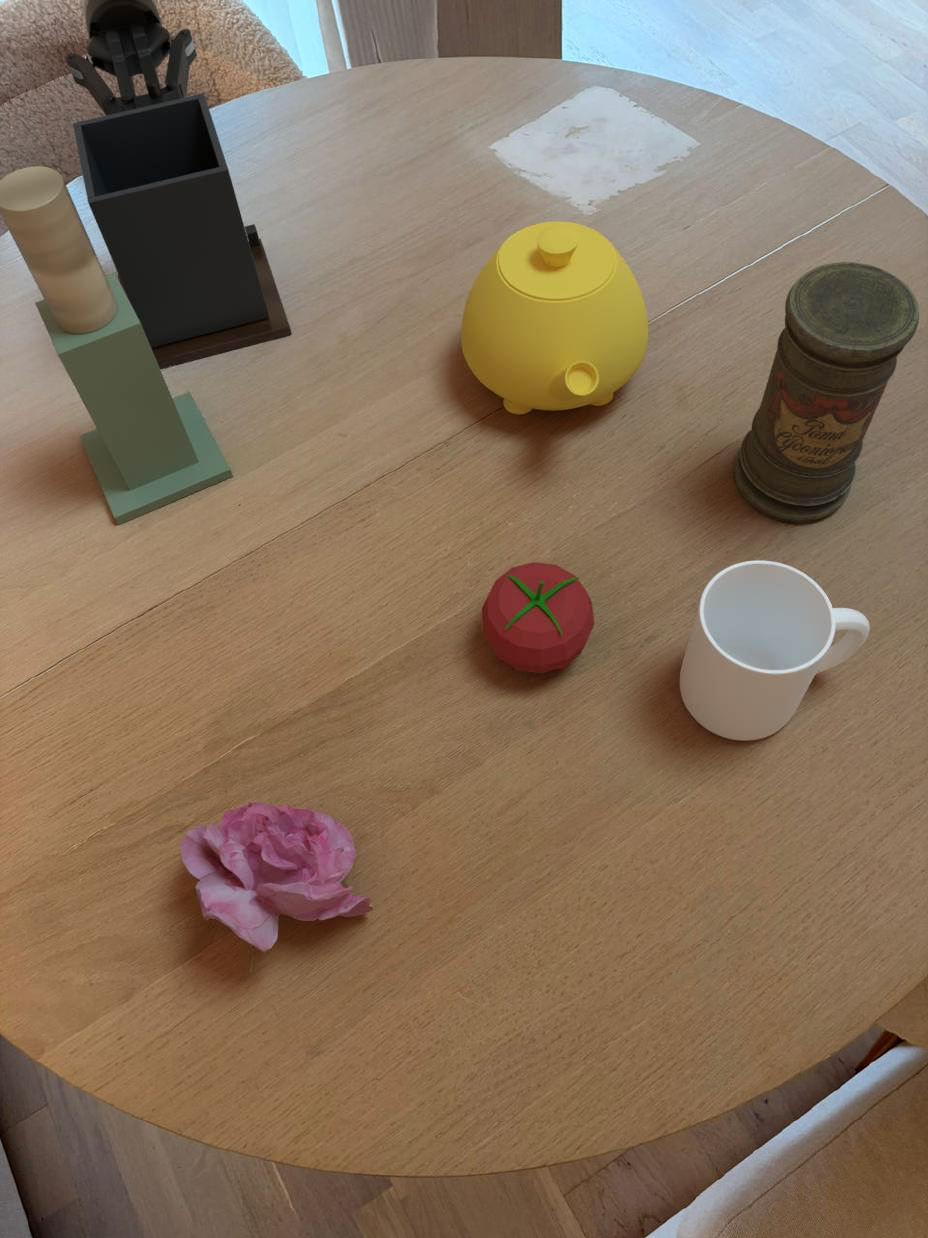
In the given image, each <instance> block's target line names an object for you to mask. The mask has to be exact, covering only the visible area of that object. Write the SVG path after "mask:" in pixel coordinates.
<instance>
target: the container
mask: <svg viewBox="0 0 928 1238" xmlns="http://www.w3.org/2000/svg"><path fill="white" fill-rule="evenodd" d="M785 299H786V300H785V304H784V305H785V306H784V311H785V315H784V328H783V329H782V331H781V333H780V334H779V336H778V340H777V344H776V345H777V346H776V352H775V355H774V358H773V362H772V364H771V368H770V372H769V375H768V379H767V382H766V386H765V389H764V392H763V396H762V399H761V402H760V404H759V407H758V409H757V410H756V412H755V414H754V416H753V418H752V421H751V429H750V430H749V431H748V432H747V433H746V434H745V436H744V438H743V439H742V442H741V445H740V447H739V449H738V451H737V453H736V456H735V460H734V463H733V464H734V465H733V473H734V479H735V480H734V481H735V483H736V486H737V488H738V490H739V492H740V494H741V495H742V497H743V498H744V499H745V500H746V501H747V503H748V504H749V505H750V506H752V507H753V508H754V509H756V510H757V511H758V512H760V513H762V514H763V515H765V516H767V517H770V518H771V519H774V520H778V521H781V522H786V523H787V522H788V523H794V524H803V523H804V524H806V523H812V522H817V521H819V520H823V519H824V518H827V517H829V516H830V515H832V514H833V513H835V512H836V511H837V510H838V509H839V508H841V506H843V504H844V503H845V502H846V500H847V498H848V497H849V494H850V492H851V489H852V484H853V482H854V479H855V476H856V469H857V466H856V462H857V460H858V459H859V458H860V456H861V453H862V451H863V446H864V445H863V444H864V438H865V436H866V435H867V432H868V429H869V427H870V424H871V422H872V420H873V417H874V415H875V413H876V410H877V409H878V406H879V405H880V402H881V399H882V396H883V395H884V392H885V390H886V387H887V385H888V383H889V380H891V378H892V376H894V373H895V371H896V368H897V364H898V356H899V355H900V353H902V351H903V350H904V348H905V346H907V345H908V344H909V343H910V341H911V340H912V339H913V337H914V335H915V334H916V332H917V330H918V327H919V322H920V307H919V303H918V299H917V298H916V296H915V294H914V292H913V291H912V289H911V287H909V286H908V285H907V284H906V283H905V282H904V281H903V280H901V279H900V278H899V277H898V276H896V275H894V274H893V273H891V272H888V271H887V270H885V269H883V268H880V267H877V266H874V265H871V264H867V263H861V262H854V261H853V262H852V261H839V262H830V263H826V264H822V265H819V266H817V267H813V269H810V270H808V271H807V272H805V273H804V274H803V275H801V276H800V277H799V278H798V279H796V281H795V283H794V284H793V285H792V286H791V288H790V289H789V290H788V293H787V296H786V298H785Z"/></svg>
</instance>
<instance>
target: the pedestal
mask: <svg viewBox="0 0 928 1238" xmlns="http://www.w3.org/2000/svg"><path fill="white" fill-rule="evenodd" d="M105 276H106V278H107V280H108V283H109V285H110V287H111V290H112V292H113V294H114V296H115V299H116V301H117V305H118V308H117V312H116V315H115V317H114V318H113V319H112V320H111V321H110V323H108V324H107V325H106V326H104V327H103V328H101V329H99V330H96V331H94V332H90V333H85V334H74V333H69V332H66V331H64V330H63V329H61V328H60V327H59V326H58V325H57V323H56V321H55V319H54V317H53V315H52V313H51V311H50V309H49V307H48V305H47V303H46V301H45V299H44V298H43V299H41V300H38V301H35V302H34V304H35V306H36V308H37V310H38V313H39V315H40V317H41V320H42V322H43V325H44V326H45V329H46V331H47V334H48V336H49V338H50V340H51V342H52V345H53V347H54V349H55V352H56V354H57V356H58V358H59V359H60V361H61V364H62V365H63V367H64V369H65V371H66V373H67V375H68V377H69V379H70V380H71V382H72V385H73V386H74V388H75V390H76V392H77V394H78V395H79V398H80V399H81V401H82V403H83V405H84V407H85V409H86V411H87V412H88V414H89V416H90V418H91V420H92V422H93V424H94V426H95V427H96V428H95V429H93V430H90V431H87V432H85V433H83V434H81V435H79V437H78V438H79V440H80V442H81V444H82V446H83V449H84V452H85V453H86V456H87V458H88V460H89V463H90V465H91V468H92V470H93V472H94V475H95V477H96V479H97V481H98V483H99V486H100V489H101V491H102V494H103V496H104V498H105V500H106V502H107V505H108V507H109V510H110V512H111V514H112V516H113V519H114V520H115V522H116V524H117V525H122V524H124V523H126V522H129V521H131V520H134V519H136V518H138V517H141V516H143V515H145V514H148V513H150V512H152V511H155V510H158V509H160V508H162V507H164V506H166V505H169V504H172V503H173V502H176V501H178V500H182V499H184V498H185V497H188V496H190V495H192V494H195V493H197V492H200V491H202V490H204V489H207V488H210V487H211V486H214V485H216V484H218V483H221V482H223V481H226V480H229V479H230V478H232V477H234V475H233V472H232V470H231V468H230V465H229V464H228V461H227V460H226V458H225V456H224V454H223V452H222V451H221V448H220V447H219V444H218V443H217V441H216V439H215V437H214V435H213V433H212V431H211V430H210V427H209V426H208V424H207V422H206V420H205V418H204V416H203V414H202V412H201V410H200V409H199V407H198V405H197V402H196V401H195V399H194V398H193V395H192V393H191V392H190V391H188V392H185V393H183V394H180V395H178V396H175V397H172V394H171V392H170V389H169V387H168V385H167V383H166V380H165V377H164V376H163V373H162V370H161V369H160V368H159V366H158V363H157V361H156V358H155V356H154V354H153V351H152V349H151V347H150V344H149V342H148V339H147V337H146V335H145V332H144V330H143V328H142V325H141V323H140V321H139V319H138V317H137V315H136V313H135V311H134V309H133V307H132V305H131V303H130V302H129V300H128V298H127V296H126V294H125V292H124V290H123V288H122V286H121V284H120V282H119V279H118V275H116V273H112V274H109V275H105Z"/></svg>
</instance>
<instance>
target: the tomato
mask: <svg viewBox="0 0 928 1238" xmlns="http://www.w3.org/2000/svg"><path fill="white" fill-rule="evenodd" d="M481 621H482V622H481V624H482V632H483V633H484V635H485V637H486V640H487V642H488V643H489V645H490V646H491V648H492V650H493V651H494V653H495V655H496V656H497V658H498V659H500V661H503V662H504V663H506V664H507V665H509V666H511V667H512V668H513V669H516V670H517V671H522V672H531V673H537V674H544V673H548V672H551V671H555V670H560V669H563V668H565V667H566V666H567V665H569V664H570V663H571V662H572V661H573V660H575V659H576V658H577V657H579V656H580V655H581V654H582V652H583V650H584V648H585V646H586V644H587V642H588V639H589V637H590V635H591V632H592V630H593V628H594V626H595V618H594V608H593V601H592V599H591V596H590V595H589V593H588V591H587V590H586V588H585V587H584V585H583V584H582V583H581V581H580V577H579V576H576V575H575V574H573V573H572V572H570V571H568V570H566V569H565V568H563V567H561V566H559V565H558V564H554V563H553V564H552V563H546V562H545V563H544V562H538V561H537V562H536V561H531V562H529V563H524V564H521V565H517V566H513V567H511V568H509V570H507V571H505V572H504V573H503V574H502V575H501V576H499V577H497V578H496V579H495V580H494V583H493V585H492V586H491V589H490V590H489V592H488V594H487V597H486V599H485V600H484V603H483V606H481Z"/></svg>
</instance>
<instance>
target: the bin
mask: <svg viewBox="0 0 928 1238" xmlns="http://www.w3.org/2000/svg"><path fill="white" fill-rule="evenodd" d="M72 127H73V131H74V138H75V143H76V147H77V151H78V157H79V163H80V167H81V173H82V177H83V182H84V187H85V188H84V189H85V194H86V199H87V203H88V206H89V209H90V211H91V213H92V215H93V217H94V220H95V222H96V224H97V227H98V229H99V232H100V234H101V237H102V239H103V241H104V244H105V246H106V248H107V250H108V254H109V255H110V258H111V261H112V262H113V265H114V268H115V267H116V268H115V270H116V273H117V275H118V274H119V277H120V279H121V281H122V284H123V286H124V289H125V291H126V293H127V296H128V298H129V300H130V303H131V305H132V307H133V309H134V311H135V313H136V315H137V317H138V319H139V321H140V323H141V325H142V328H143V330H144V332H145V335H146V337H147V339H148V342H149V344H150V347H151V348H153V347H157V346H161V345H165V344H169V343H173V342H177V341H180V340H184V339H188V338H192V337H196V336H200V335H204V334H208V333H211V332H215V331H219V330H223V329H227V328H231V327H235V326H239V325H243V324H246V323H250V322H254V321H258V320H262V319H266V318H269V314H268V310H267V307H266V303H265V299H264V296H263V292H262V289H261V285H260V281H259V278H258V274H257V271H256V267H255V263H254V260H253V256H252V253H251V249H250V246H249V242H248V237H247V234H246V230H245V225H244V221H243V216H242V213H241V210H240V206H239V203H238V199H237V196H236V192H235V187H234V185H233V181H232V178H231V173H230V170H229V167H228V164H227V161H226V158H225V154H224V151H223V148H222V146H221V142H220V139H219V135H218V133H217V130H216V127H215V124H214V120H213V118H212V114H211V110H210V108H209V105H208V101H207V99H206V96H205V93H198V94H195V95H190V96H186V97H185V98H181V99H176V100H172V101H168V102H163V103H159V104H155V105H150V106H146V107H142V108H137V109H133V110H128V111H124V112H120V113H115V114H111V115H107V116H106V115H103V116H102V115H101V116H97V117H94V118H90V119H85V120H81V121H77V122H73V123H72Z"/></svg>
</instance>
